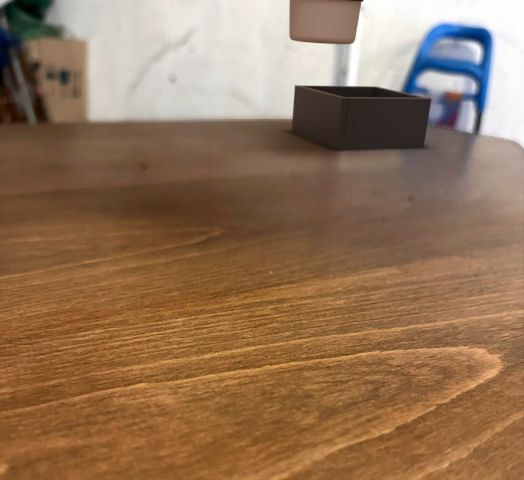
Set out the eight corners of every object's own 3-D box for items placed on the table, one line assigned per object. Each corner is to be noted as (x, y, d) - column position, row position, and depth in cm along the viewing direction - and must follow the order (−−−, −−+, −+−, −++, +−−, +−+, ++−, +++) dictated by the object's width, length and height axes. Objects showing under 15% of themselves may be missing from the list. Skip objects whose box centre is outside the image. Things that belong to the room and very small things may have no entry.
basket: (371, 131, 102) (376, 86, 99) (423, 148, 91) (431, 98, 88) (291, 133, 97) (294, 85, 94) (336, 151, 86) (342, 98, 83)
